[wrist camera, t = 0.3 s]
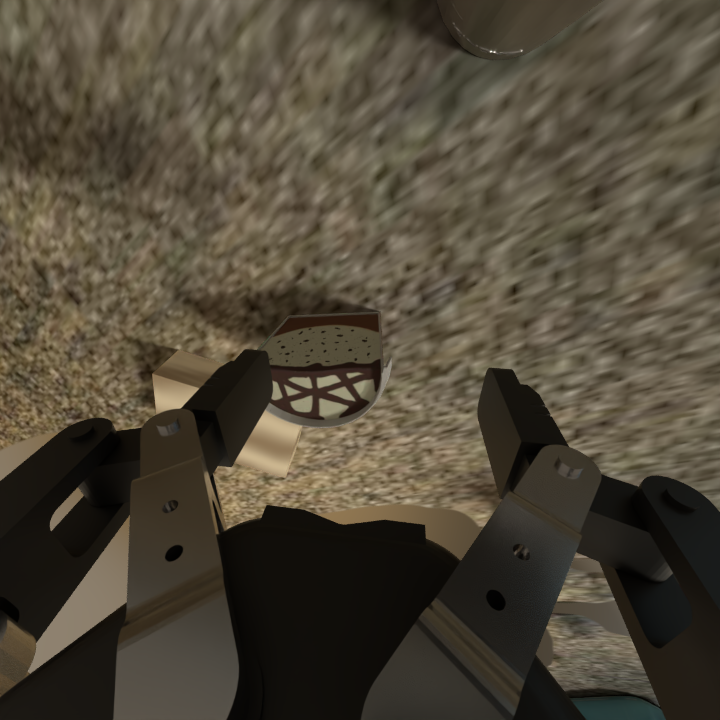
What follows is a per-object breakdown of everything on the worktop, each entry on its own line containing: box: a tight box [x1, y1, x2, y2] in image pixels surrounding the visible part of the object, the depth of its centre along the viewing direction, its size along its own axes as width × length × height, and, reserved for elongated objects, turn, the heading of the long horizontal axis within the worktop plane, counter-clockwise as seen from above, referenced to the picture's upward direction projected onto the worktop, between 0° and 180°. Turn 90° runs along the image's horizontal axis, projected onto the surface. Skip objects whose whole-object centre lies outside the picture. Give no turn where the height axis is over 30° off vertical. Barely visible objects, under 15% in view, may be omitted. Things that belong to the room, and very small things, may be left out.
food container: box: [257, 312, 392, 428], centre depth 29 cm, size 12×6×10 cm, turn 96°
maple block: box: [152, 350, 303, 478], centre depth 39 cm, size 11×16×5 cm
